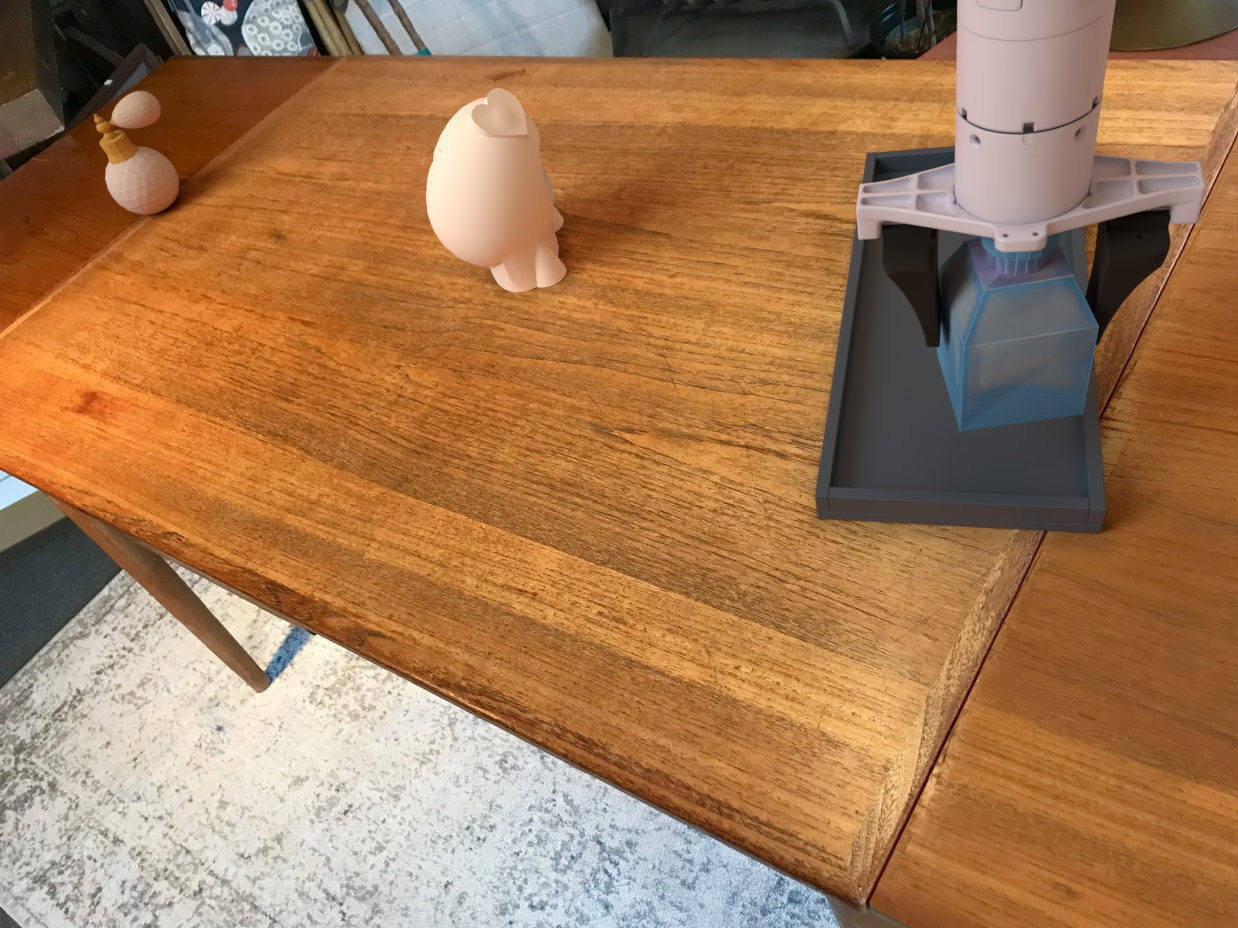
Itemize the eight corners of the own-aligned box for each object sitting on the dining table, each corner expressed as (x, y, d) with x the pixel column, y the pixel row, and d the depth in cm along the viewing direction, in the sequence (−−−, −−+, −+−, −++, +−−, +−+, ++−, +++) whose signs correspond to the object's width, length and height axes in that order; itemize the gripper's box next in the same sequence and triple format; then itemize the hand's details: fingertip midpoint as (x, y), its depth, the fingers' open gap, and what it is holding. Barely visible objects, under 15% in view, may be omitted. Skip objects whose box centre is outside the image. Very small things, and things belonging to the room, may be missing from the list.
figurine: (456, 315, 80) (380, 163, 69) (459, 239, 88) (391, 92, 77) (581, 281, 79) (523, 121, 68) (573, 207, 86) (520, 52, 75)
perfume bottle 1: (119, 218, 109) (48, 126, 100) (185, 171, 113) (121, 78, 104) (151, 231, 105) (79, 136, 96) (217, 182, 109) (154, 86, 100)
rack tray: (1073, 161, 73) (1076, 135, 71) (1100, 534, 52) (1106, 509, 50) (868, 176, 78) (866, 152, 77) (817, 519, 57) (814, 496, 56)
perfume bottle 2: (1049, 335, 53) (1074, 149, 44) (1082, 414, 49) (1117, 226, 40) (936, 353, 54) (939, 175, 46) (959, 431, 50) (967, 252, 42)
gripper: (842, 165, 40) (861, 387, 49) (1242, 134, 34) (1173, 388, 44) (858, 76, 44) (872, 298, 54) (1217, 38, 39) (1159, 290, 49)
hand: (1009, 333), depth 49 cm, fingers closed on perfume bottle 2, 7 cm apart
